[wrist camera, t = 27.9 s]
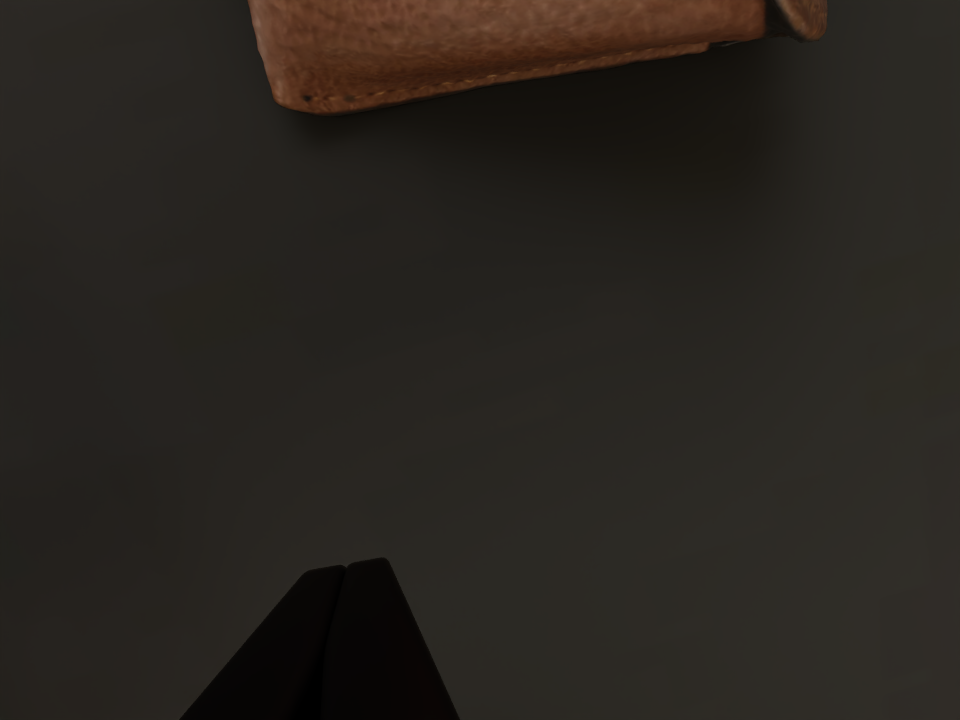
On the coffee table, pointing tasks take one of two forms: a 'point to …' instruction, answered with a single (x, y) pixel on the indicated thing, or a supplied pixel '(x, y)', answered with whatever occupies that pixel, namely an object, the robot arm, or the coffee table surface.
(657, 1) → the sunglasses case
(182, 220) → the coffee table surface
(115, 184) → the coffee table surface
